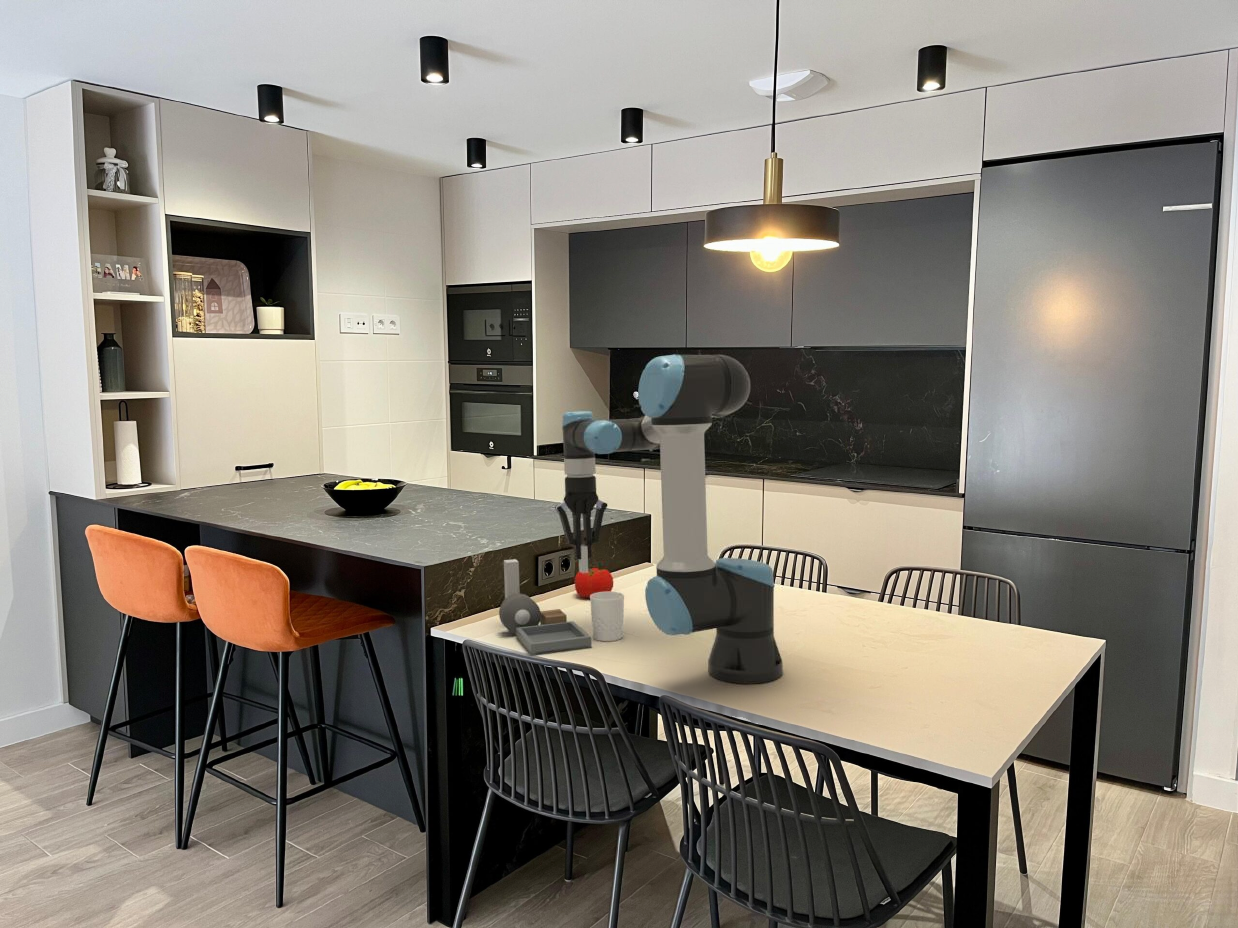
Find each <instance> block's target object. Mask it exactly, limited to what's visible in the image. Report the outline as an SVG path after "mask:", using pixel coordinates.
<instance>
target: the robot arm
mask: <svg viewBox="0 0 1238 928" xmlns="http://www.w3.org/2000/svg"><path fill="white" fill-rule="evenodd" d="M637 390H638V392H637V397H638V404H639V406H640V410H641V412H642V413H643V414H644V416H641V417H639V418H623V419H622V418H621V419H619V418H618V419H599V420H597V419H595V418H594V416H595V415H594V414H593V412H592V411H589V410H588V411H586V410H583V411H581V410H580V411H567V412H564V414H563V415H562V427H561V430H562V437H563V438H562V441H563V442H562V443H563V459H564V460H563V462H564V463H563V464H564V465H563V466H564V467H563V468H564V475H566V476H565V478H564V492H565V493H564V496H563V497H564V498H563V501H562V502H561V503H560V504H559V505H558V504H557V505H555V506H554V510H555V511H556V512H557V514H558V515H559V518H560V523H561V525H562V530H563V532H564V537H565V540H566V543H568V544H569V545H571V546H574V558H575V559H576V560H578V572H581V573H588V571H589V559H592V546H593V545H594V544H595V543H598V542H599V539H600V534H601V529H602V528H601V527H602V525H603V524H602V523H603V519H604V514H605V511H606V509H607V508H608V503H607V502H605V501H602V500H601V499H599V496H598V494H597V477H596V476H595V474H596V454H597V455H607V454H612V453H616V452H617V453H618V452H630V451H643V450H644V451H646V450H652V451H654V450H655V451H656V450H658V449H659V451H660V452H659V453H660V454H659V455H660V456H659V457H660V480H661V481H660V485H661V509H662V510H661V513H662V514H661V515H662V516H661V517H662V540H663V546H662V547H663V556H662V558H661V559H660V560H659V562H657V563H656V567H655V568H656V576H653V577H652V578H650V579H649V580H648V581H647V583H646V586H645V591H644V593H645V595H644V596H645V597H644V598H645V603H646V607H647V611H648V614H649V616H650V618H651V620H652V622H653V623H654V625H655V626H656V628H658V630H659V631H661V632H662V633H663V634H665V635H669V636H679V635H680V636H681V635H685V636H686V635H691V634H693V633H698V632H703V631H709V630H715V631H716V634H715V638H714V641H713V644H712V647H711V650H710V654H709V657H708V659H707V669H708V670H707V671H708V673H709V675H710V676H711V677H713V678H715V679H718V680H721V681H724V682H726V683H733V684H734V683H735V684H743V685H744V684H745V685H747V684H749V685H750V684H752V685H753V684H762V683H768V682H771V681H775V680H776V679H779V678H781V676H782V675H783V672H784V671H783V668H784V667H783V660H782V656H781V653H780V650H779V647H778V644H777V641H776V639H775V638H776V637H775V632H774V631H775V630H774V626H775V624H774V623H775V617H774V613H775V612H774V610H775V609H774V607H775V606H774V605H775V604H774V601H775V599H774V597H775V595H774V593H775V592H774V591H775V583H774V582H775V581H774V571H773V568H772V567H771V566H770V565H769V564H767V563H765V562H762V561H758V560H754V559H753V560H752V559H747V558H737V557H736V558H735V557H734V558H733V557H721V558H718V559H716V560H715V561H714V560H712V558H710V556H709V555H708V553H709V551H708V526H707V525H708V523H707V491H706V490H707V489H706V487H707V486H706V484H707V483H706V455H705V454H706V453H705V451H706V450H705V432H706V431H707V430H708V429H709V428H710V427H711V426H712V422H713V421H712V420H713V419H712V418H724V417H727V416H729V415H731V414H733V413H734V412H736V411H738V410H739V409H740V408H742V407H743V406H744V405H745V403H746V402H747V400H749V399H748V398H749V395H750V393H751V379H750V376H749V373H748V371H747V370H746V369H745V367H744V365H743V364H741V363H740V362H739V361H738V360H737V359H735V358H733V357H731V356H728V355H724V354H670V355H661V356H657V357H654V358H653V359H651V360H650V361H648V363H647V364H646V366H645V368H644V369H643V370H642V373H641V376H640V379H639V383H638V389H637ZM567 508H568V510H569V512H571V516H572V530H571V525H570V521H569V518H568V515H567V513H566V512H567ZM594 508H596V510H595V514H594V519H593V525H592V519H591V518H592V512H593V510H594ZM581 520H582V521H581ZM581 522H582V524H581ZM582 525H583V526H582ZM582 528H583V529H582ZM582 530H583V543H584V544H582ZM572 531H573V532H572Z"/></svg>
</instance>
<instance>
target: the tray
mask: <svg viewBox="0 0 1238 928" xmlns="http://www.w3.org/2000/svg"><path fill="white" fill-rule="evenodd" d="M515 639H516V640H517V641H518V642H519V643H520V645H521V646H522V647H523V648H524V649H525V650H526V652H527V654H528V653H529V655H530V654H531V655H532V656H539V655H545V654H553V653H554V654H555V653H562V652H568V651H569V652H570V651H575V650H576V651H577V650H586V649H591V648H593V646H592V636H591V635H590V634H589V633H587V632H586V631H585V629H583V628H582V627H580V626H579V625H578V623H576V622H575V621H574V620H571V621H567V622H561V623H553V624H544V625H540V624H539V625H536V626H528V627H519V628H516V635H515ZM531 655H530V656H531Z"/></svg>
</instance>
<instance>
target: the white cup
mask: <svg viewBox="0 0 1238 928" xmlns="http://www.w3.org/2000/svg"><path fill="white" fill-rule="evenodd" d="M589 599H590V614H591V625H592V632H593V634H592V635H593V639H595V640H596V641H598V642H616V641H619V640H621V639H622V638H623V629H624V628H623V627H624V626H623V625H624V615H625V614H624V610H625V609H624V608H625V595H624V594H623V593H621V592H618V591H611V592H598V593H594V594H592V595H590V598H589Z"/></svg>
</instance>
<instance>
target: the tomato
mask: <svg viewBox="0 0 1238 928" xmlns="http://www.w3.org/2000/svg"><path fill="white" fill-rule="evenodd" d="M574 589H575V592H576V594H577V595H578V596H581V597H583V598H585V599H590V595H592V594H594V593H598V592H612V590H613V589H614V578H613V575H612V574H611V572H610V571H609V570H608V569H604V568H603V569H599V568H598V567H593V568H589V569H588V573H581V572H579V571H578V572H576V575H575V576H574Z"/></svg>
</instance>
